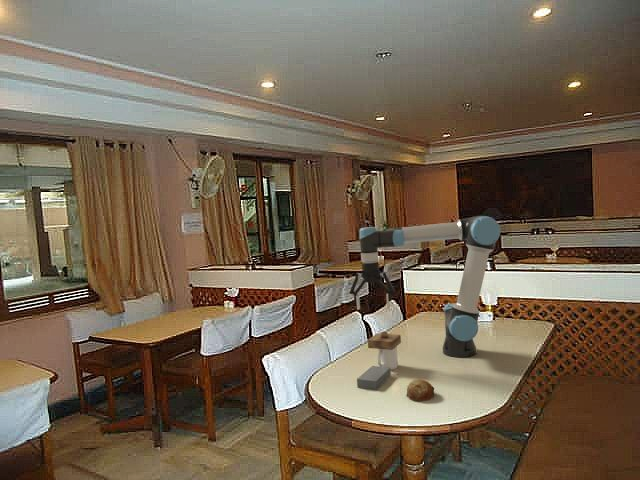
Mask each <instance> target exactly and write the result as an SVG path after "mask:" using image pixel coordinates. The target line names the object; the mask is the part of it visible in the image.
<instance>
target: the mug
mask: <svg viewBox="0 0 640 480" xmlns="http://www.w3.org/2000/svg"><path fill="white" fill-rule="evenodd" d="M376 361H377V366H379V367H389V368H390V371H391V370H395V369H397V368H398V367H399V363H398V362H399V360H398V346H396V347H395V348H394V349H393V350H386V349H377V358H376Z"/></svg>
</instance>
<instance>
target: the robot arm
mask: <svg viewBox="0 0 640 480" xmlns="http://www.w3.org/2000/svg"><path fill="white" fill-rule="evenodd" d="M500 236H501V227H500V224H499V223H498V222H497V220H495V219H494V218H492V217H490V216H488V215H485V216H484V215H476V216H472V217H467V218H461V219H457V221H454V222H442V223H435V224H424V225H415V226H414V225H413V226H402V227H394V228H393V227H390V228H387V229H385V230H377V227H376V226H368V227H362V228H360V229H359V246H360V258H361V259H360V260H361V262H362V263H361V271H362V272H361V273H359V272H356V273H355V278H354V281H353V283H352V286H351V288H350V290H349V294H351V295H352V296H353V298H354V300H353V302H354V303H356V310H358V311H359V310H360V309H361V304H360V303H361V301H360V294H359V292H360V290H362V288H363V287H364V286H365V284H366V283H367V284H370V283H371V284H374V283H376V284H378V285H379V286H380V287H381V288H382V289H383V290H384V292H385V293H386V297H385V298H386V308H387V309H386V310H390V308H391V307H390V306H391V305H390V302H392V294H394V293H395V292H396V289H395V287H394V285H393V283H392V282H391V281H390V279H389V276H388V273H387V272H386V271H384V272H380V265H379V262H378V261H379V250H378V249H383V248H385V249H386V248H400V247H404V246H405V244H412V243H422V242H424V243H425V242H433V241H446V240H454V239H456V240H457V239H458V240H459V241H465V246H466V247H467V249H468V251H467V254H466V259H465V264H464V269H463V273H462V278H461V282H460V286H459V291H458V295H457V300H456V302H455V303H447V304H445V305H444V309H443V313H444V327H445V328H444V329H445V338H444V342H443V343H442V353H443V354H444V355H445V356H448V357H454V358H467V357H473V356H475V355H476V354H477V345H476V343H475V342H474V338H475V337H476V336H477V334H478V332H479V324H478V322H479V321H478V320H479V316H480V313H481V312H480V310H479V308H478V305H479V299H480V296H481V292H482V291H481V290H482V287H483V282H484V278H485V274H486V268H487V264H488V260H489V255H490V253H492V252H493V251H494V250H495V246H496V242H497V241H498V239H499V238H500ZM361 277H362V279H363V280H362V281H361V282H360V284H359V285H358V287H356V286H357V284H358V282H359V280H360V278H361ZM380 277H381V278H383V279H384V281H385V283H386V284H385V283H384V282H383V281H382V280H381V279H380ZM386 285H387V286H388V287H387V286H386Z"/></svg>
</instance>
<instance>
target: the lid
mask: <svg viewBox="0 0 640 480" xmlns="http://www.w3.org/2000/svg"><path fill="white" fill-rule="evenodd" d="M401 343H402V337H401V334H393V333H388V331H387V332H386V331H382V332H380V333H379V332H377V333H375V334H374V335H373V336H371V337H370V338H368V339H367V349H376V350H378V349H386V350H393V349H394V348H395V347H396V346H397V347H398V346H399V345H400V344H401Z"/></svg>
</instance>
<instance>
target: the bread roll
mask: <svg viewBox="0 0 640 480" xmlns="http://www.w3.org/2000/svg"><path fill="white" fill-rule="evenodd" d="M405 396H406V397H407V398H409V399H410V400H411V401H414V402H425V401H429V400H431V399H433V398H434V396H435V387H434V386H433V385H432V384H431V383H430V382H429V381H427V380H424V379H413V380H411V381H410V382H409V384H408V385H407V386H406V395H405Z"/></svg>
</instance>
